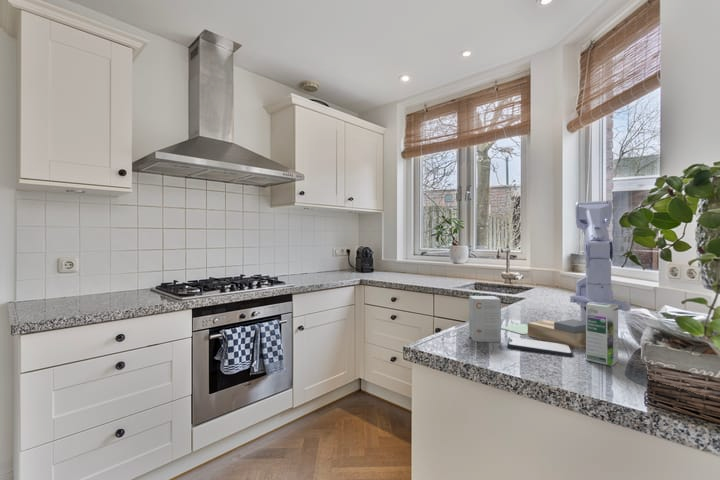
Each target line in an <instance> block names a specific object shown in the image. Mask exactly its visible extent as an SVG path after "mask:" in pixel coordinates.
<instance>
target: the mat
mask: <svg viewBox="0 0 720 480" xmlns="http://www.w3.org/2000/svg"><path fill="white" fill-rule="evenodd" d="M501 330H504V331H507V332H511V333H515V334H518V335H522V336H524V335H528V324H524V323H520V324H514V325H507V326H501Z"/></svg>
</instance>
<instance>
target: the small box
mask: <svg viewBox="0 0 720 480" xmlns="http://www.w3.org/2000/svg"><path fill="white" fill-rule="evenodd" d="M501 306H502V301H501V298H499V297H497V296H495V295H469V296H468V329H469V330H468V335H469V337H471V338H472V339H471V338H470V339H471V340H472V341H473V342H474V341H475V343H476V342H477V341H478V342H477V343H479V342H480V343H484V342H485V343H501V342H502V329H501V327H502V319H501V318H502V316H501V314H502V307H501Z"/></svg>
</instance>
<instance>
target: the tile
mask: <svg viewBox="0 0 720 480" xmlns="http://www.w3.org/2000/svg"><path fill="white" fill-rule="evenodd" d="M554 329H557V330H561V331H565V332H569V333H573V334H576V333H581V332H586V322H583V321H580V319H579V320H578V319H572V318H571V319H565V320H560V321H555V322H554Z"/></svg>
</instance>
